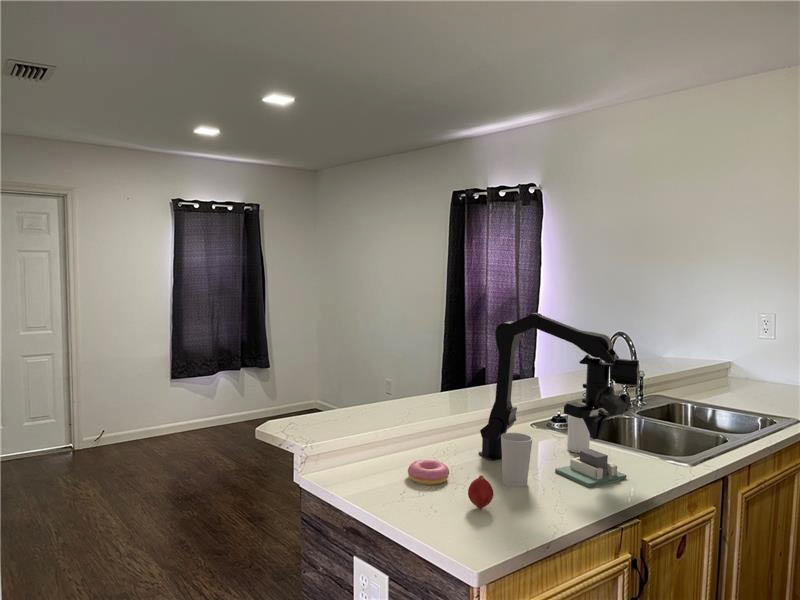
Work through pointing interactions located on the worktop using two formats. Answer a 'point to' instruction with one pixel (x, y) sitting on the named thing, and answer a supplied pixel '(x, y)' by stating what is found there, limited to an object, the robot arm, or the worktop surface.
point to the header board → (590, 473)
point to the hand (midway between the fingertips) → (594, 438)
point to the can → (577, 435)
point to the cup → (515, 458)
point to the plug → (594, 459)
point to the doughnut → (428, 472)
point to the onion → (480, 492)
